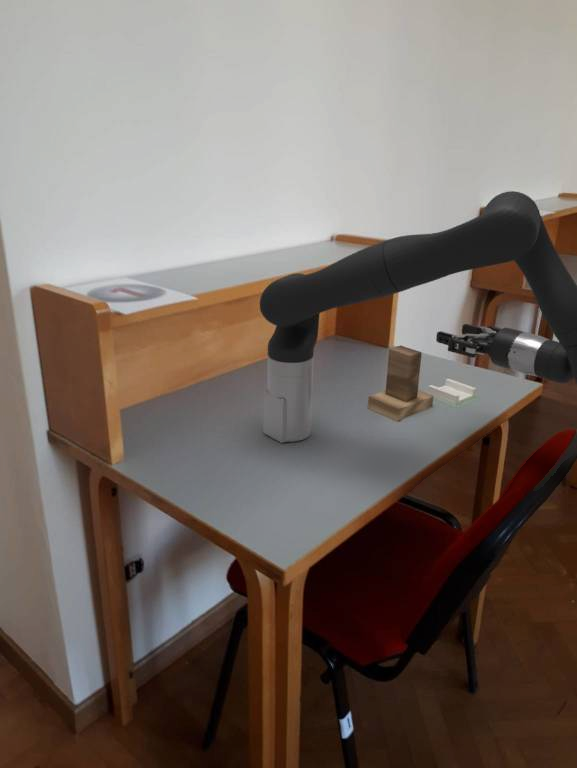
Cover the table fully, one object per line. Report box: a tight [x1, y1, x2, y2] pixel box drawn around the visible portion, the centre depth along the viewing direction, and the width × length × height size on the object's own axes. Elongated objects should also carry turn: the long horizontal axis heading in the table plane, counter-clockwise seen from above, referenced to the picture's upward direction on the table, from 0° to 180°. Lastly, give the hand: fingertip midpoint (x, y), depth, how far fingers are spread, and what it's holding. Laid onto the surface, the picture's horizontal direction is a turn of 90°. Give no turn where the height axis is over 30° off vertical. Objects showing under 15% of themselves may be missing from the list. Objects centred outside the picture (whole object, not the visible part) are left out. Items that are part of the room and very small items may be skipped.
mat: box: [426, 391, 480, 408], centre depth 153 cm, size 9×10×1 cm
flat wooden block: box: [367, 389, 434, 422], centre depth 146 cm, size 12×9×3 cm
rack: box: [426, 378, 477, 406], centre depth 153 cm, size 8×8×2 cm
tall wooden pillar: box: [385, 345, 423, 402], centre depth 144 cm, size 4×6×11 cm, turn 40°
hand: (450, 332), depth 131 cm, fingers open, 8 cm apart
